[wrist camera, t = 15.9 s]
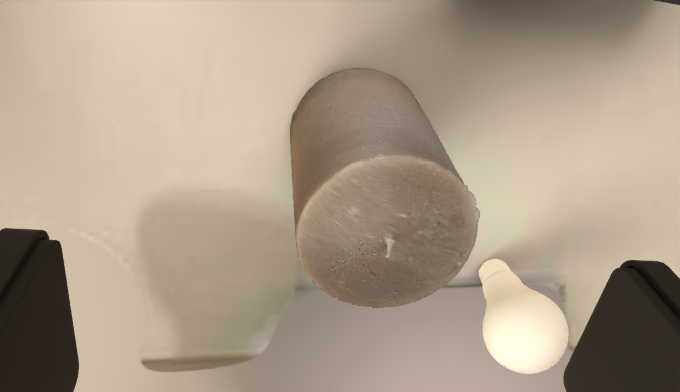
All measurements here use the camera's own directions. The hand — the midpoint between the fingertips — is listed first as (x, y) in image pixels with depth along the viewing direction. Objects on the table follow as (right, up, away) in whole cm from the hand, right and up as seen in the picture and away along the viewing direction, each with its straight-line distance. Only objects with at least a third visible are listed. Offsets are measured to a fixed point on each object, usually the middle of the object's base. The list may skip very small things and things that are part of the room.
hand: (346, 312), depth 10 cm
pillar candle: (+1, +7, +31) cm, 32 cm away
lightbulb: (+13, -4, +39) cm, 41 cm away
